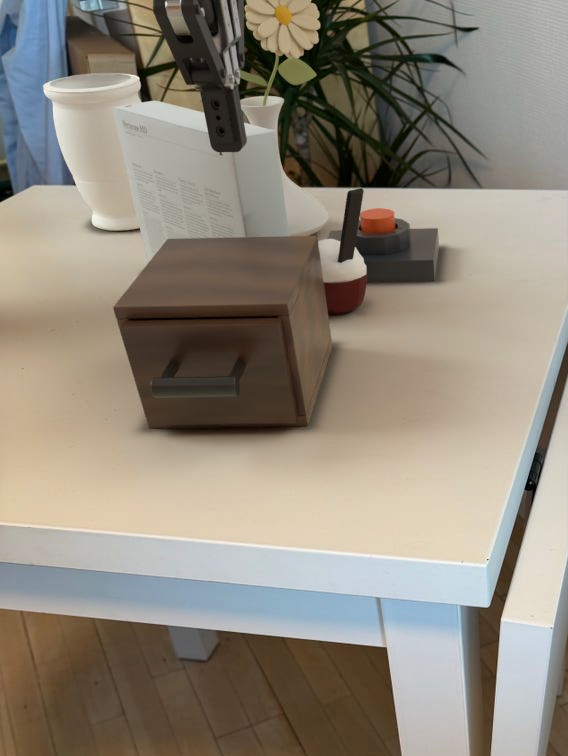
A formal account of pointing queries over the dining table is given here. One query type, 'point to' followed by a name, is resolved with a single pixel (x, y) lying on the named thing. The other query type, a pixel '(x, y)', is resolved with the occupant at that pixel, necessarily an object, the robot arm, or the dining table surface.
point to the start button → (377, 221)
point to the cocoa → (344, 262)
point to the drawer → (211, 370)
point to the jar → (96, 142)
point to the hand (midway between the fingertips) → (230, 149)
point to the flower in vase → (289, 36)
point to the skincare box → (198, 177)
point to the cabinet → (243, 298)
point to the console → (397, 253)
